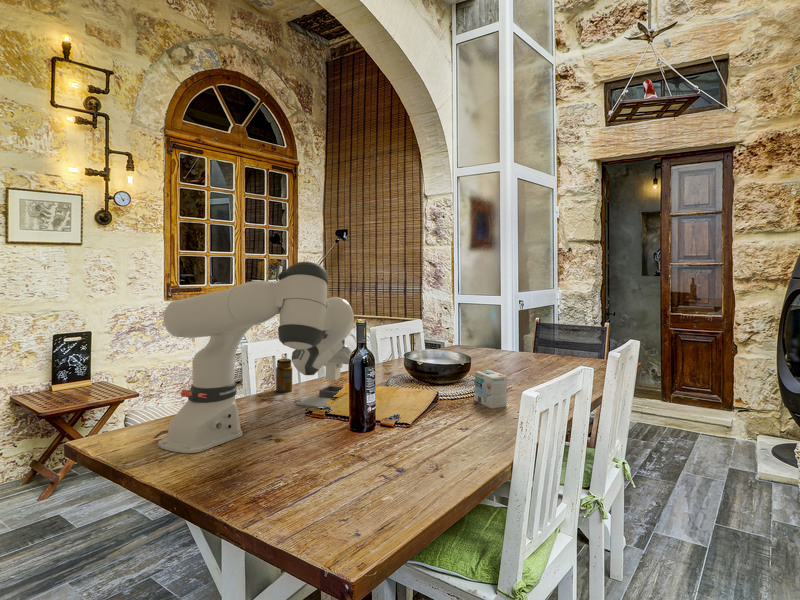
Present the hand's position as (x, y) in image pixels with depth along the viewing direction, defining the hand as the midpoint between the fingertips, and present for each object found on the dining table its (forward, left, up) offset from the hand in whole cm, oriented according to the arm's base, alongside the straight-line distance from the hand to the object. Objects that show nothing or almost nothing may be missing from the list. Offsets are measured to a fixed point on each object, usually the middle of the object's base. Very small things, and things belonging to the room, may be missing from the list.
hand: (333, 365), depth 177 cm
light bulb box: (+11, -56, -11) cm, 58 cm away
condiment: (-5, +19, -11) cm, 22 cm away
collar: (-1, 0, -11) cm, 11 cm away
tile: (-13, 0, -11) cm, 16 cm away
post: (-1, 0, -5) cm, 5 cm away
